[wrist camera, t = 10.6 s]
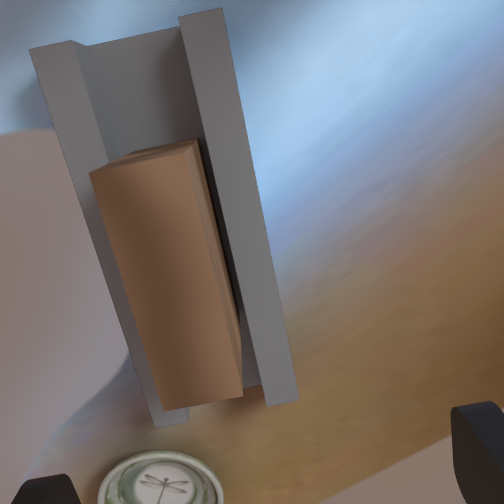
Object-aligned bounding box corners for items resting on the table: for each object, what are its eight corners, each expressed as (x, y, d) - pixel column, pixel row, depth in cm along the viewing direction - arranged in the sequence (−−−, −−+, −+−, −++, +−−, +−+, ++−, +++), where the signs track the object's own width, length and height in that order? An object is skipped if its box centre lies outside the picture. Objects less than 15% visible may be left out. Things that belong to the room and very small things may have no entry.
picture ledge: (223, 20, 25) (222, 7, 22) (292, 370, 33) (299, 399, 30) (54, 56, 26) (28, 49, 22) (162, 396, 33) (155, 428, 30)
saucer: (104, 522, 37) (96, 550, 35) (104, 428, 34) (95, 451, 32) (219, 526, 38) (218, 553, 36) (229, 434, 35) (229, 457, 33)
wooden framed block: (199, 137, 26) (184, 153, 18) (239, 314, 30) (243, 396, 22) (130, 151, 26) (83, 174, 18) (179, 325, 30) (160, 412, 22)
